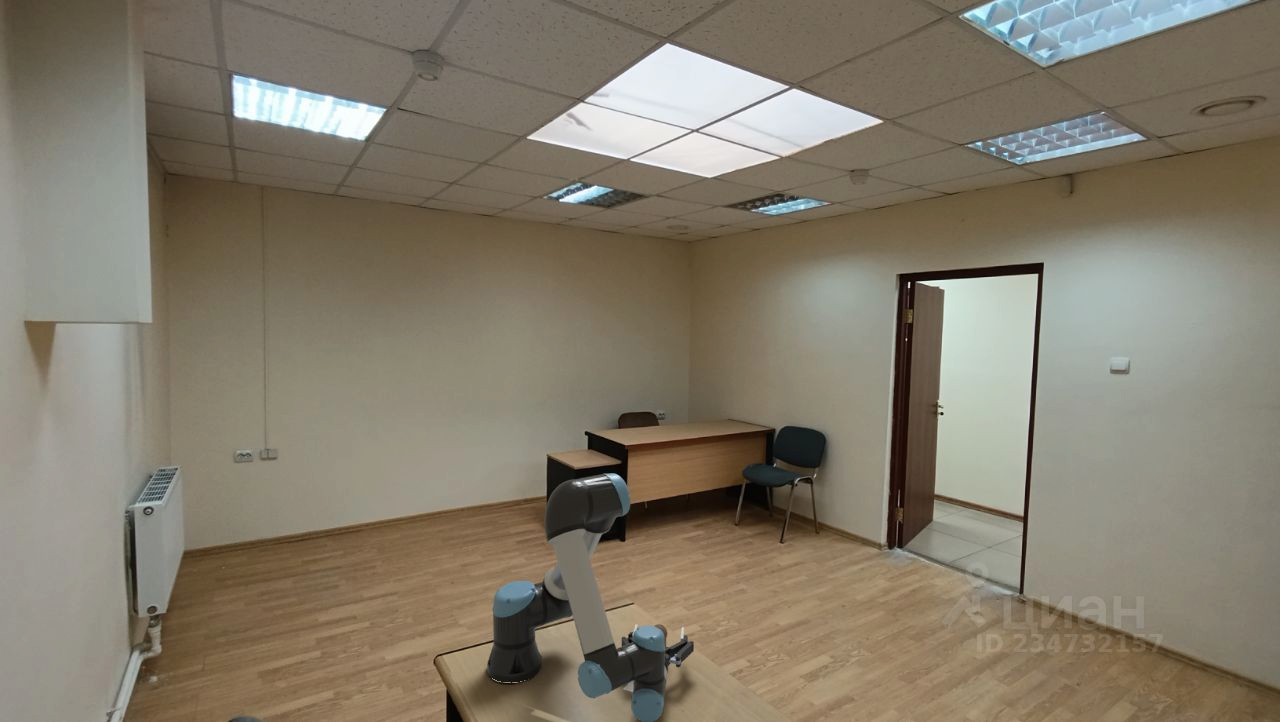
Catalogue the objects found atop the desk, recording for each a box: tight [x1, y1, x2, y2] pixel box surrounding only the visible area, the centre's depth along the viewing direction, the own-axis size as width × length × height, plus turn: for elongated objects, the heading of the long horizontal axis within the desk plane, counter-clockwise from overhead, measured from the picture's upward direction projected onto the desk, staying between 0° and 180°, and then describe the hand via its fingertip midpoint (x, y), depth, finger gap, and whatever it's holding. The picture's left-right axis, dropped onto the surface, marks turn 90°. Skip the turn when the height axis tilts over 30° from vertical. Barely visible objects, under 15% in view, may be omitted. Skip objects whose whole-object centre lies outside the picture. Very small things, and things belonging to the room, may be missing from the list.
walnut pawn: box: [654, 623, 668, 647], centre depth 165 cm, size 6×6×11 cm
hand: (659, 630), depth 168 cm, fingers open, 13 cm apart
